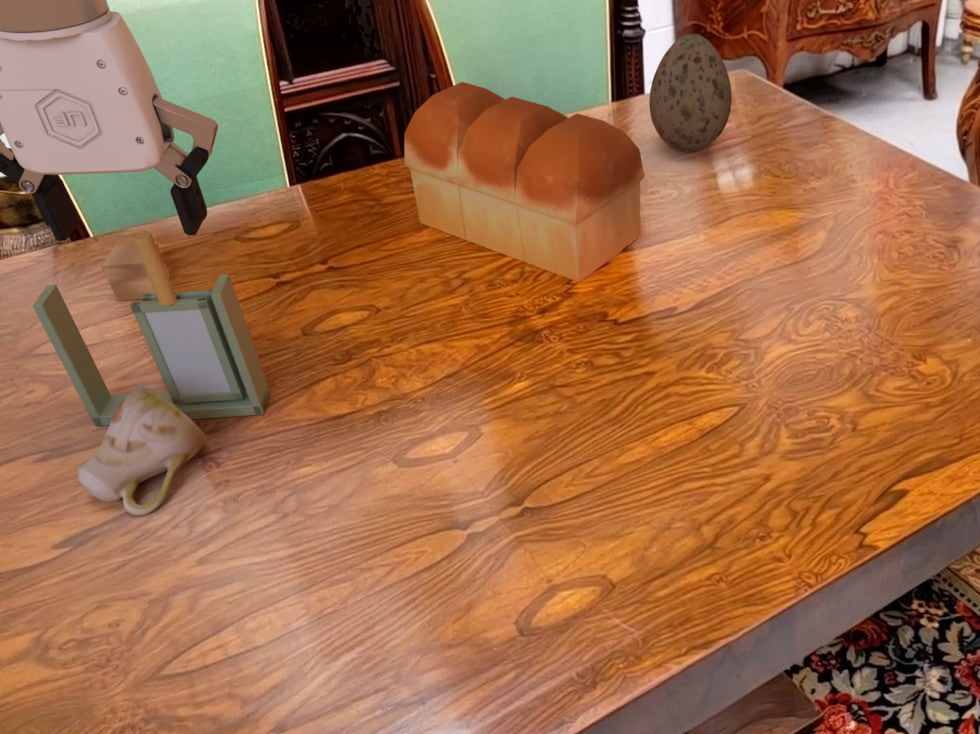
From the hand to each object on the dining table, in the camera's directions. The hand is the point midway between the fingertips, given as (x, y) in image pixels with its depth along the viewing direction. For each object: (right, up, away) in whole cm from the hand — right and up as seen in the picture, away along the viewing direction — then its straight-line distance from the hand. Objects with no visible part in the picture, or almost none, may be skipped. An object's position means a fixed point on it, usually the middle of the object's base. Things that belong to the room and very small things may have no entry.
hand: (132, 229), depth 74 cm
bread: (+27, +8, +37) cm, 47 cm away
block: (-14, 0, +28) cm, 32 cm away
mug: (-2, -20, +6) cm, 21 cm away
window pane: (+1, -13, +11) cm, 17 cm away
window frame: (-2, -14, +13) cm, 19 cm away
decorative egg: (+47, +23, +54) cm, 75 cm away
